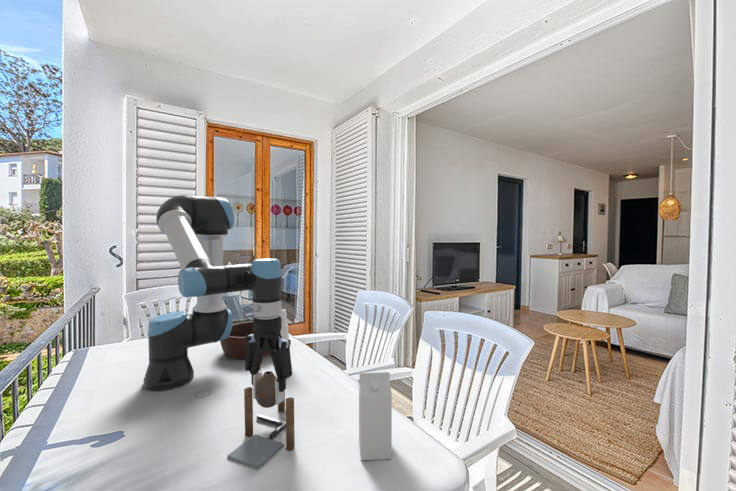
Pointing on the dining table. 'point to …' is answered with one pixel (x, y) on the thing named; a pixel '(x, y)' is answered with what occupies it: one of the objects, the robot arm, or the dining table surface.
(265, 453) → the pad
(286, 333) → the cosmetic bottle
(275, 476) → the dining table surface
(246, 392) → the posts
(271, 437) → the grey l-shaped bracket
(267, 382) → the vase
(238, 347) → the wooden bowl
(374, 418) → the milk carton
